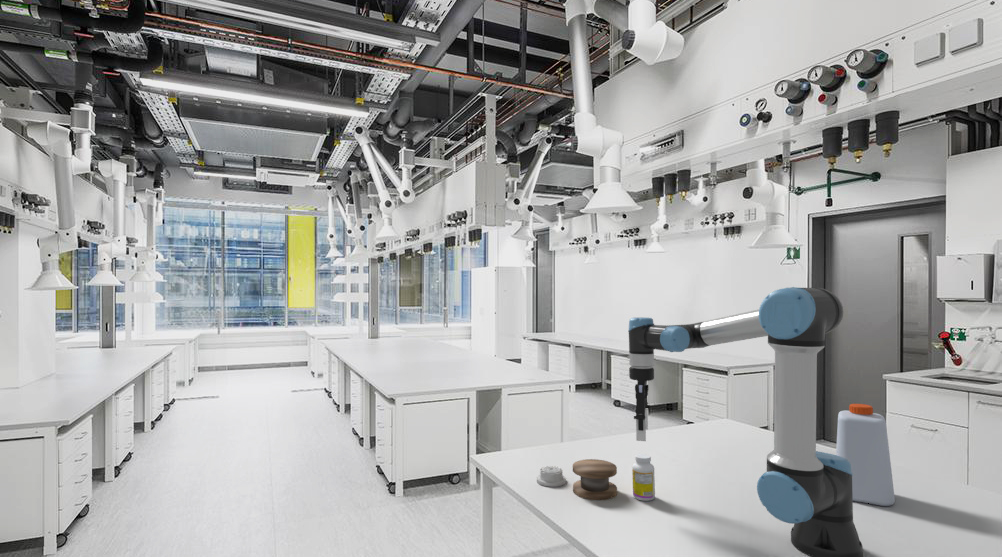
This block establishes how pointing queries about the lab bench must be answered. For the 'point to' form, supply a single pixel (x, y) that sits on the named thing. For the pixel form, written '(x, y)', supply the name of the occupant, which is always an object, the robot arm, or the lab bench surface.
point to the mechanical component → (551, 476)
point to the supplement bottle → (643, 478)
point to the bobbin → (594, 479)
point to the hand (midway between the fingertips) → (642, 434)
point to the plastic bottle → (866, 454)
